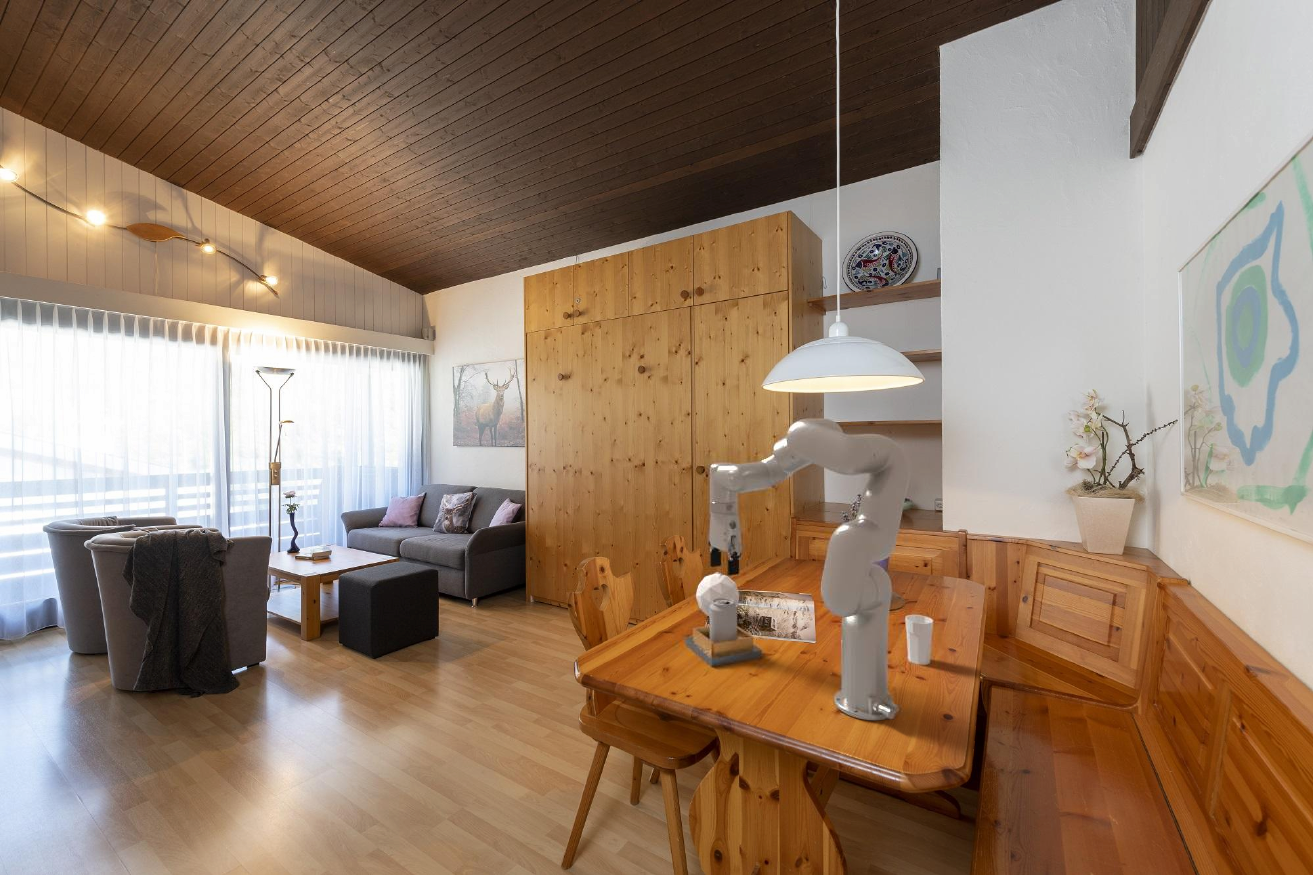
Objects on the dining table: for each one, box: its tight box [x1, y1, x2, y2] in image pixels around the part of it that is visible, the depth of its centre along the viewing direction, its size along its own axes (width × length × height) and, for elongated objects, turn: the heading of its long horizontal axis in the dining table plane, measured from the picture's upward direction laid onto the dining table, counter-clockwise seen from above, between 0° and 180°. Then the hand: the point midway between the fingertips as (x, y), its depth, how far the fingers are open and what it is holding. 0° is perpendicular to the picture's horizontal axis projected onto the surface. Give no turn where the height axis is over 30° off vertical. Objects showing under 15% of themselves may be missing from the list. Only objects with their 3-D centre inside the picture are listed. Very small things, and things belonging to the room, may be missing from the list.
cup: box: [904, 614, 934, 666], centre depth 148 cm, size 7×7×11 cm
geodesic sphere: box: [695, 571, 740, 617], centre depth 184 cm, size 15×14×14 cm
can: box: [709, 598, 738, 643], centre depth 155 cm, size 8×8×12 cm
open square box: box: [684, 625, 763, 668], centre depth 156 cm, size 16×15×5 cm
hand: (724, 570), depth 155 cm, fingers open, 9 cm apart
